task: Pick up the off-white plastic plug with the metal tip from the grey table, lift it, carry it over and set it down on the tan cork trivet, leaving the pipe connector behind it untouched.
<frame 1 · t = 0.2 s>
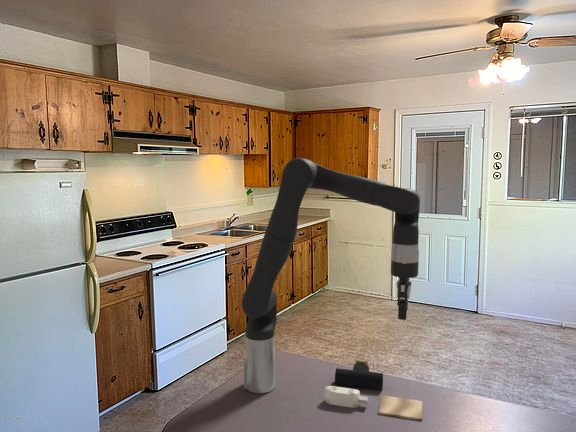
hand: (403, 314, 129), 28 cm above the table, tool pointing down, fingers open, 8 cm apart
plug: (342, 402, 135), on the table
pipe connector: (359, 382, 149), on the table
trivet: (400, 408, 132), on the table
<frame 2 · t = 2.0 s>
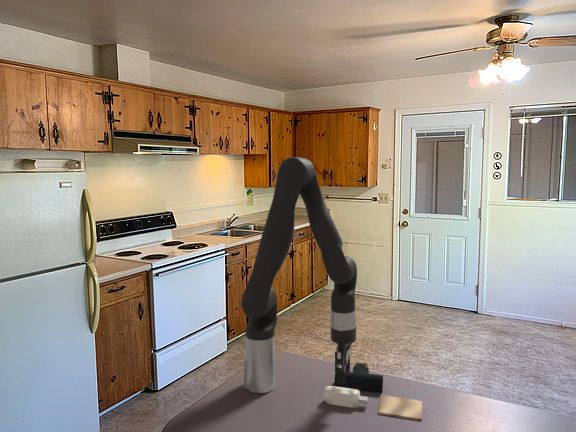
hand: (343, 377, 134), 8 cm above the table, tool pointing down, fingers open, 8 cm apart
pipe connector: (359, 384, 147), on the table
everything else where it was.
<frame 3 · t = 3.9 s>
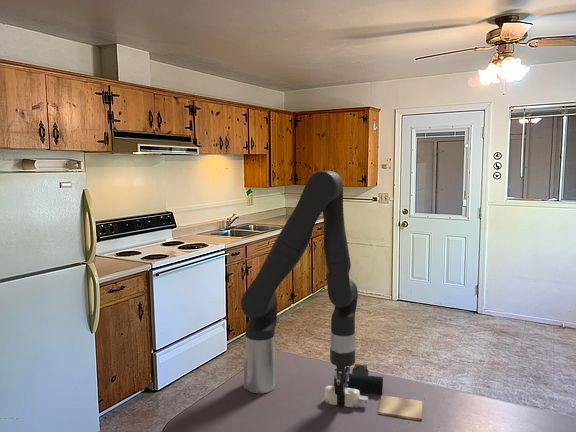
hand: (342, 401, 135), 0 cm above the table, tool pointing down, fingers closed on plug, 3 cm apart
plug: (342, 402, 135), on the table, touching gripper
pipe connector: (359, 386, 146), on the table
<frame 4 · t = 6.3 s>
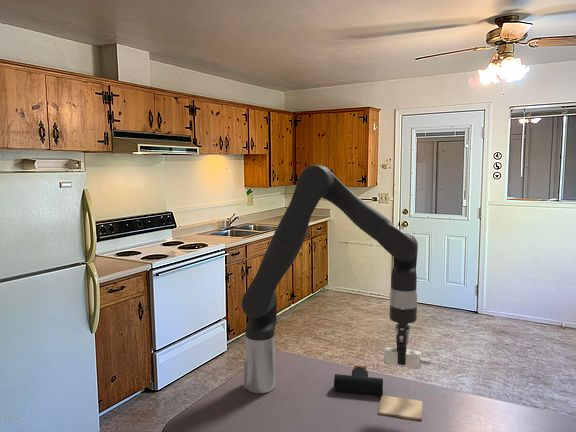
hand: (401, 361, 130), 14 cm above the table, tool pointing down, fingers closed on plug, 3 cm apart
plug: (401, 364, 130), point 13 cm above the table, touching gripper
pipe connector: (359, 387, 145), on the table
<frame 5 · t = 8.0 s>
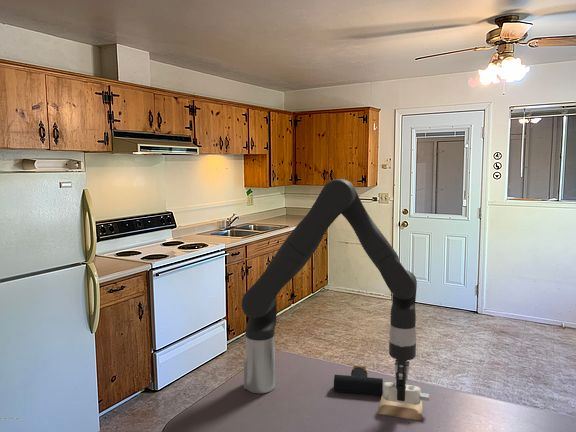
hand: (401, 396, 131), 4 cm above the table, tool pointing down, fingers closed on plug, 3 cm apart
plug: (401, 399, 131), point 3 cm above the table, touching gripper
everything else where it was.
when the fingers open (2 cm above the table, at t = 9.1 s): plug stays where it is, resting on trivet.
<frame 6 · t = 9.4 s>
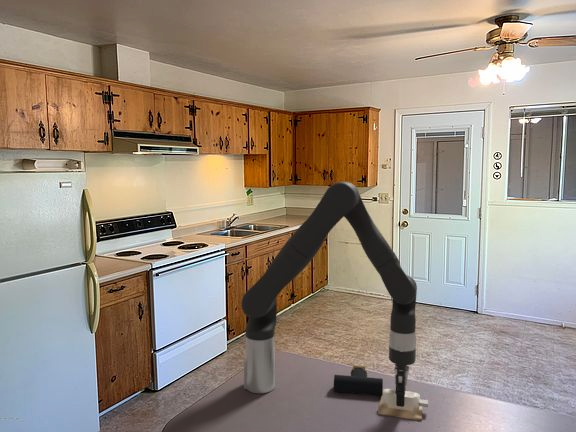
hand: (400, 399, 131), 3 cm above the table, tool pointing down, fingers open, 6 cm apart
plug: (400, 406, 131), point 1 cm above the table, touching trivet
everything else where it was.
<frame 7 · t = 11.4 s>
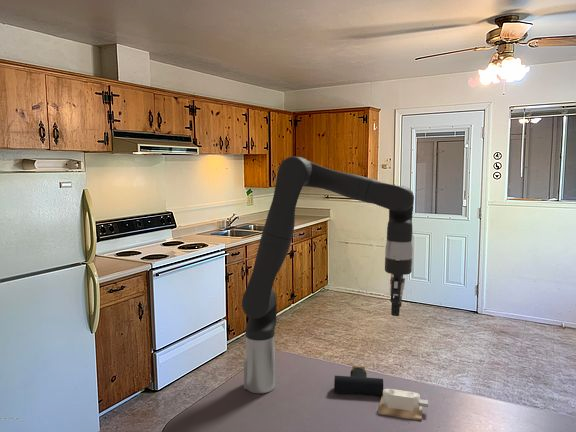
hand: (396, 311, 130), 29 cm above the table, tool pointing down, fingers open, 8 cm apart
nothing on the table moved.
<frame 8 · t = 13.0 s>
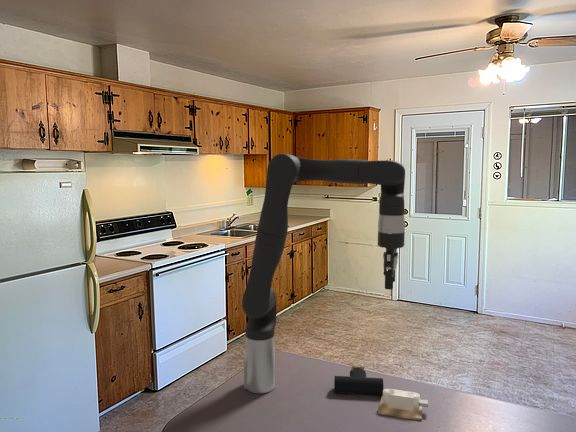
hand: (390, 285, 131), 36 cm above the table, tool pointing down, fingers open, 8 cm apart
nothing on the table moved.
at the end: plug inside the target area on the trivet (0.0 cm from its centre), point 0.6 cm above the trivet's base; the gripper is holding nothing; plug tilted 0° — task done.
